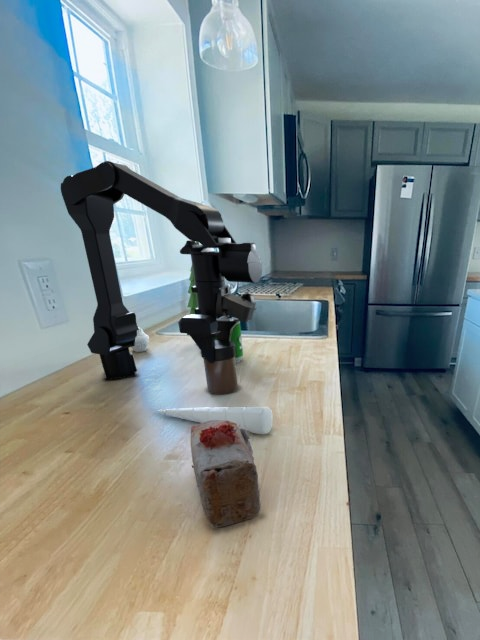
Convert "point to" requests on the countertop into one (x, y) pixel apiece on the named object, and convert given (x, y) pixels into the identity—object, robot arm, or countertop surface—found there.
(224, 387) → the coffee jar
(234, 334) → the soda can
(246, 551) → the countertop surface
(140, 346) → the garlic bulb
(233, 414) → the unicorn horn
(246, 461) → the food item
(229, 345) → the jar lid
